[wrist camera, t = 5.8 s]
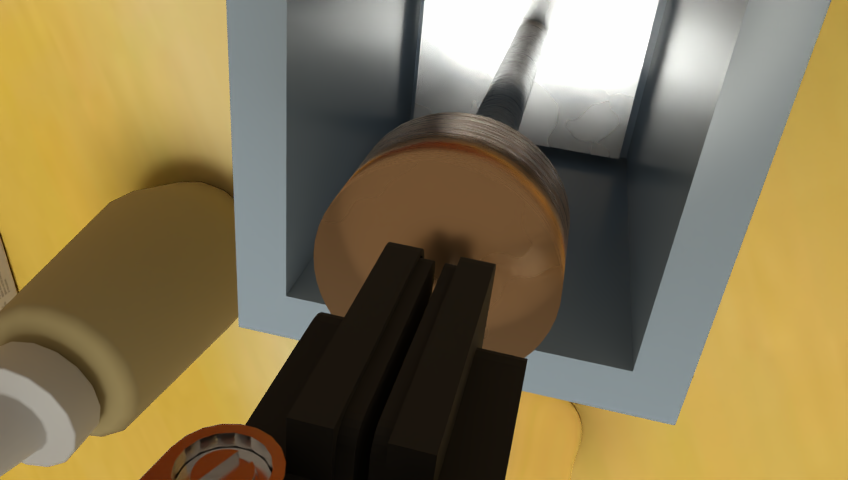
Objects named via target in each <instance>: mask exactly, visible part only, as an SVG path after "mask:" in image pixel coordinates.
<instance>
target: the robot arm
mask: <svg viewBox="0 0 848 480" xmlns="http://www.w3.org/2000/svg"><path fill="white" fill-rule="evenodd" d="M495 270H496V264H494V263H489V262H484V261H480V260H475V259H470V258H465V257H460V259H459V262H458V264H457V265H453V264H448V263H445V264H444V267H443V269H442V271H441V274H440V276H439V278H438V281H437V283H436V286H435V288H434V290H433V282H434V274H435V261H434V260H429V259H425V258H424V249H422V248H417V247H413V246H408V245H403V244H398V243H394V242H388V243H387V244H386V246H385V248H384V249H383V251H382V253H381V255H380V256H379V258H378V260H377V261H376V263H375V265H374V267H373V268H372V270H371V272H370V274H369V275H368V277H367V279H366V280H365V282H364V284H363V286H362V287H361V289H360V291H359V293H358V294H357V296H356V298H355V299H354V301H353V303H352V305H351V306H350V308H349V310H348V312H347V313H346V315H345V317H342V316H337V315H333V314H329V313H324V312H320V313H318V314H317V315H316V316H315V317H314V319H313V320H312V322H311V323H310V325H309V326H308V328H307V329H306V331H305V332H304V334H303V336H302V337H301V339H300V340H299V342H298V343H297V345H296V347H295V348H294V350H293V351H292V353H291V354H290V356H289V357H288V359H287V361H286V362H285V364H284V365H283V367H282V368H281V370H280V372H279V373H278V375H277V376H276V378H275V379H274V381H273V382H272V384H271V386H270V387H269V389H268V390H267V392H266V393H265V395H264V397H263V398H262V400H261V401H260V403H259V404H258V406H257V407H256V409H255V411H254V412H253V414H252V415H251V417H250V418H249V420H248V422H247V423H246V425H242V424H219V425H215V426H210V427H205V428H202V429H200V430H198V431H195V432H193V433H191V434H189V435H186V436H185V437H184V438H182V439H181V440H180V441H178V442H177V443H176V444H175V445H173V446H172V447H171V448H170V449H169V450H168V451H167V452H166V453H165V454H164V455H163V456H162V457H161V458H160V459H159V460H158V461H157V462H156V463H155V464H154V465H153V466H152V467H151V468H150V469H149V470H148V471H147V472H146V473H145V474H144V475H143V476H142V478H141V479H140V480H505V478H506V473H507V467H508V462H509V457H510V451H511V446H512V441H513V435H514V430H515V425H516V419H517V414H518V409H519V403H520V398H521V393H522V387H523V382H524V377H525V371H526V366H527V360H528V359H526V358H522V357H517V356H513V355H509V354H504V353H500V352H495V351H491V350H487V349H482V345H483V340H484V334H485V328H486V322H487V317H488V311H489V305H490V299H491V294H492V288H493V282H494V276H495ZM432 290H433V293H432Z"/></svg>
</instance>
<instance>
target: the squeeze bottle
mask: <svg viewBox="0 0 848 480" xmlns="http://www.w3.org/2000/svg"><path fill="white" fill-rule="evenodd" d="M237 318H238V292H237V266H236V240H235V214H234V199H233V198H232V197H231V196H230V195H229V194H227V193H226V192H225V191H224V190H221V189H219V188H216V187H214V186H211V185H208V184H206V183H203V182H178V183H173V184H168V185H162V186H157V187H152V188H146V189H141V190H136V191H132V192H130V193H128V194H126V195H124V196H122V197H120V198H118V199H116V200H114V201H112V202H110V203H109V204H108V205H107V206H106V207H105V208H104V209H103V210H102V211H101V212H100V213H99V214H98V215H97V216H95V217H94V218H93V219H92V220H91V221H90V222H89V223H88V224H87V225H86V226H85V227H84V228H83V229H82V230H81V231H80V232H79V233H78V234H77V235H76V236H75V237H74V238H73V239H72V240H71V241H70V242H69V243H68V244H67V245H66V246H65V247H64V248H63V249H62V250H61V251H60V252H59V253H58V254H57V255H56V256H55V257H54V258H53V259H52V260H51V261H50V262H49V263H48V264H47V265H46V266H45V267H44V268H43V269H42V270H41V271H40V272H39V273H38V274H37V275H36V276H35V277H34V278H33V279H32V280H31V281H30V282H29V283H28V284H27V285H26V286H25V287H24V288H23V289H22V290H21V291H20V292H19V293H18V294H17V295H16V296H15V297H14V298H13V299H12V300H11V301H10V302H9V303H8V304H7V305H6V306H5V307H4V308H3V309H2V310H1V311H0V476H2V475H3V474H5V473H6V472H8V471H9V470H10V469H12V468H13V467H15V466H16V465H18V464H19V463H20V462H22V463H25V464H27V465H36V466H45V467H50V466H53V465H57V464H60V463H64V462H66V461H67V460H68V459H69V458H70V457H71V456H72V454H73V453H74V452H75V451H76V450H77V449H78V447H79V446H80V445H81V444H82V443H83V442H84V441H85V439H86V438H87V437H88V436H89V435H91V436H100V437H103V436H106V435H109V434H113V433H116V432H119V431H123V430H125V429H126V428H127V427H128V426H129V425H130V424H131V423H132V422H133V421H134V420H135V419H136V418H137V417H138V416H139V415H140V414H141V413H142V412H143V411H144V410H145V409H146V408H147V407H148V406H149V405H150V404H151V403H152V402H153V401H154V400H155V399H156V398H157V397H158V396H159V395H160V394H161V393H162V392H163V391H164V390H165V389H166V388H167V387H169V386H170V385H171V384H172V383H173V382H174V381H175V380H176V379H177V378H178V377H179V376H180V375H181V374H182V373H183V372H184V371H185V370H186V369H187V368H188V367H189V366H190V365H191V364H192V363H193V362H194V361H195V360H196V359H197V358H198V357H199V356H200V355H201V354H202V353H203V352H204V351H205V350H206V349H207V348H208V347H209V346H210V345H211V344H212V343H213V342H214V341H215V340H216V339H217V338H218V337H219V336H220V335H221V334H222V333H223V332H224V331H225V330H227V329H228V328H229V326H230V325H231V324H232V323H233V322H234V321H235V320H236V319H237Z"/></svg>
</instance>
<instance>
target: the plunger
mask: <svg viewBox="0 0 848 480" xmlns="http://www.w3.org/2000/svg"><path fill="white" fill-rule="evenodd" d="M658 2H659V0H425V2H424V13H423V23H422V34H421V44H420V55H419V65H418V76H417V86H416V97H415V108H414V118H413V120H410V121H408V122H406V123H404V124H401V125H400V126H398V127H397V128H395V129H394V130H392V131H390V132H389V133H388V134H387V135H386V136H384V137H383V138H382V139H381V140H380V141H379V142H378V143H377V144H376V145H375V146H374V148H373V149H372V150H371V151H370V152H369V154H368V155H367V156H366V158H365V159H364V160H363V162H362V163H361V164H360V166H359V167H358V168H357V170H356V171H355V172H354V174H353V175H352V176H351V177H350V179H349V180H348V181H347V183H346V184H345V185H344V187H343V188H342V189H341V191H340V192H339V193H338V195H337V196H336V197H335V199H334V200H333V201H332V203H331V204H330V206H329V207H328V209H327V210H326V212H325V213H324V215H323V218H322V220H321V222H320V224H319V227H318V230H317V234H316V238H315V244H314V254H313V255H314V270H315V275H316V280H317V284H318V287H319V290H320V293H321V296H322V298H323V300H324V302H325V304H326V306H327V308H328V310H329V311H330V313H331V314H333V315H337V316H342V317H345V315H346V313H347V312H348V310H349V308H350V306H351V305H352V303H353V301H354V299H355V298H356V296H357V294H358V293H359V291H360V289H361V287H362V286H363V284H364V282H365V280H366V279H367V277H368V275H369V274H370V272H371V270H372V268H373V267H374V265H375V263H376V261H377V260H378V258H379V256H380V255H381V253H382V251H383V249H384V248H385V246H386V244H387V243H388V242H394V243H398V244H403V245H408V246H413V247H417V248H422V249H424V258H425V259H429V260H434V261H435V274H434V282H433V290H434V288H435V286H436V283H437V281H438V278H439V276H440V274H441V271H442V269H443V267H444V264H445V263H448V264H453V265H457V264H458V262H459V259H460V257H465V258H470V259H475V260H480V261H484V262H489V263H494V264H496V270H495V276H494V282H493V288H492V294H491V299H490V305H489V311H488V317H487V322H486V328H485V334H484V340H483V345H482V349H487V350H491V351H495V352H500V353H504V354H509V355H513V356H517V357H522V358H525V357H526V356H528V355H529V354H530V353H532V352H533V351H534V350H535V349H536V348H537V347H538V346H539V344H540V343H541V342H542V341H543V340H544V338H545V337H546V335H547V334H548V333H549V331H550V329H551V327H552V325H553V323H554V321H555V319H556V317H557V313H558V310H559V307H560V302H561V296H562V289H563V280H564V271H565V263H566V254H567V246H568V237H569V228H570V210H569V204H568V198H567V195H566V191H565V188H564V185H563V183H562V181H561V179H560V176H559V174H558V172H557V171H556V169H555V168H554V166H553V165H552V163H551V161H550V160H549V159H548V158H547V156H546V155H545V154H544V153H543V152H542V151H541V149H540V148H538V147H537V146H536V145H541V146H547V147H552V148H558V149H564V150H569V151H575V152H581V153H586V154H592V155H598V156H603V157H609V158H615V159H619V157H620V153H621V149H622V145H623V141H624V137H625V133H626V129H627V125H628V121H629V117H630V113H631V109H632V105H633V101H634V97H635V93H636V89H637V85H638V81H639V77H640V73H641V69H642V65H643V61H644V57H645V53H646V50H647V46H648V42H649V38H650V34H651V30H652V26H653V22H654V18H655V14H656V10H657V6H658ZM433 290H432V293H433Z"/></svg>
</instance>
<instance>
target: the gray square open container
mask: <svg viewBox="0 0 848 480" xmlns="http://www.w3.org/2000/svg"><path fill="white" fill-rule="evenodd" d="M424 2H425V0H226V5H227V31H228V57H229V83H230V109H231V135H232V161H233V187H234V214H235V240H236V266H237V292H238V318H239V327H242V328H247V329H251V330H255V331H260V332H264V333H269V334H273V335H278V336H282V337H286V338H291V339H295V340H300V339H301V337H302V336H303V334H304V332H305V331H306V329H307V328H308V326H309V325H310V323H311V322H312V320H313V319H314V317H315V316H316V315H317V314H318V313H320V312H324V313H329V314H331V313H330V311H329V310H328V308H327V306H326V304H325V302H324V300H323V298H322V296H321V293H320V290H319V287H318V284H317V280H316V275H315V270H314V255H313V254H314V244H315V238H316V234H317V230H318V227H319V224H320V222H321V220H322V218H323V215H324V213H325V212H326V210H327V209H328V207H329V206H330V204H331V203H332V201H333V200H334V199H335V197H336V196H337V195H338V193H339V192H340V191H341V189H342V188H343V187H344V185H345V184H346V183H347V181H348V180H349V179H350V177H351V176H352V175H353V174H354V172H355V171H356V170H357V168H358V167H359V166H360V164H361V163H362V162H363V160H364V159H365V158H366V156H367V155H368V154H369V152H370V151H371V150H372V149H373V148H374V146H375V145H376V144H377V143H378V142H379V141H380V140H381V139H382V138H383V137H384V136H386V135H387V134H388V133H389V132H390V131H392V130H394V129H395V128H397V127H398V126H400V125H401V124H404V123H406V122H408V121H410V120H413V118H414V108H415V97H416V86H417V76H418V65H419V55H420V44H421V34H422V23H423V13H424ZM830 2H831V0H659V2H658V6H657V10H656V14H655V18H654V22H653V26H652V30H651V34H650V38H649V42H648V46H647V50H646V53H645V57H644V61H643V65H642V69H641V73H640V77H639V81H638V85H637V89H636V93H635V97H634V101H633V105H632V109H631V113H630V117H629V121H628V125H627V129H626V133H625V137H624V141H623V145H622V149H621V153H620V157H619V159H615V158H609V157H603V156H598V155H592V154H586V153H581V152H575V151H569V150H564V149H558V148H552V147H547V146H541V145H536V146H537V147H538V148H540V149H541V151H542V152H543V153H544V154H545V155H546V156H547V158H548V159H549V160H550V161H551V163H552V165H553V166H554V168H555V169H556V171H557V172H558V174H559V176H560V179H561V181H562V183H563V185H564V188H565V191H566V195H567V198H568V204H569V210H570V228H569V237H568V246H567V254H566V263H565V271H564V280H563V289H562V296H561V302H560V307H559V310H558V313H557V317H556V319H555V321H554V323H553V325H552V327H551V329H550V331H549V333H548V334H547V335H546V337H545V338H544V340H543V341H542V342H541V343H540V344H539V346H538V347H537V348H536V349H535V350H534V351H533V352H532V353H530V354H529V355H528V356H526V357H525V358H526V359H528V360H527V366H526V371H525V377H524V382H523V387H522V391H525V392H530V393H534V394H538V395H543V396H547V397H552V398H556V399H561V400H565V401H569V402H574V403H578V404H583V405H587V406H592V407H596V408H600V409H605V410H609V411H614V412H618V413H623V414H627V415H631V416H636V417H640V418H645V419H649V420H653V421H658V422H662V423H667V424H671V425H675V424H676V421H677V418H678V416H679V413H680V410H681V407H682V405H683V402H684V399H685V397H686V394H687V391H688V388H689V386H690V383H691V380H692V378H693V375H694V372H695V369H696V367H697V364H698V361H699V359H700V356H701V353H702V350H703V348H704V345H705V342H706V339H707V337H708V334H709V331H710V329H711V326H712V323H713V320H714V318H715V315H716V312H717V310H718V307H719V304H720V301H721V299H722V296H723V293H724V291H725V288H726V285H727V282H728V280H729V277H730V274H731V272H732V269H733V266H734V263H735V261H736V258H737V255H738V252H739V250H740V247H741V244H742V242H743V239H744V236H745V233H746V231H747V228H748V225H749V223H750V220H751V217H752V214H753V212H754V209H755V206H756V204H757V201H758V198H759V195H760V193H761V190H762V187H763V185H764V182H765V179H766V176H767V174H768V171H769V168H770V165H771V163H772V160H773V157H774V155H775V152H776V149H777V146H778V144H779V141H780V138H781V136H782V133H783V130H784V127H785V125H786V122H787V119H788V117H789V114H790V111H791V108H792V106H793V103H794V100H795V97H796V95H797V92H798V89H799V87H800V84H801V81H802V78H803V76H804V73H805V70H806V68H807V65H808V62H809V59H810V57H811V54H812V51H813V49H814V46H815V43H816V40H817V38H818V35H819V32H820V30H821V27H822V24H823V21H824V19H825V16H826V13H827V10H828V8H829V5H830Z"/></svg>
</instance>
